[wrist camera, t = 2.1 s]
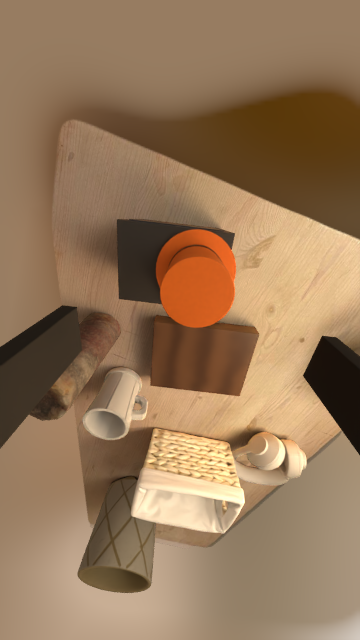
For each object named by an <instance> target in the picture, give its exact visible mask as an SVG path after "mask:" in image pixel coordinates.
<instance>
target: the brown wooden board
mask: <svg viewBox="0 0 360 640" xmlns="http://www.w3.org/2000/svg"><path fill="white" fill-rule="evenodd" d="M258 337H259V333H258V331H257V330H256V328H255V327H250V326H242V325H234V324H225V323H217V322H216V323H214V324H212V325H209V326H206V327H200V328H194V327H187V326H184V325H182V324H179V323H178V322H176V321H174V320H173V319H172V318H171V317H167V316H158V315H157V316H156V318H155V321H154V334H153V351H152V368H151V386H158V387H167V388H175V389H184V390H192V391H200V392H209V393H217V394H226V395H234V396H240V393H241V390H242V387H243V384H244V381H245V378H246V374H247V371H248V368H249V365H250V362H251V359H252V356H253V353H254V349H255V346H256V343H257V340H258Z"/></svg>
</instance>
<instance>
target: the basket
mask: <svg viewBox="0 0 360 640" xmlns="http://www.w3.org/2000/svg"><path fill="white" fill-rule="evenodd" d="M236 473H237V472H236V469H235V464H234V460H233V455H232V452H231V448H230V444H229V443H228V442H224V441H220V440H214V439H208V438H204V437H197V436H194V435H189V434H185V433H181V432H172V431H167V430H162V429H157V428H155V429H154V430H153V432H152V437H151V441H150V445H149V449H148V452H147V455H146V459H145V462H144V465H143V468H142V469H141V470H140V474H139V478H138V481H137V485H136V489H135V494H134V498H133V503H132V507H131V516H132V517H136V518H139V519H142V520H146V521H150V522H155V523H160V524H166V525H172V526H177V527H183V528H188V529H193V530H198V531H203V532H214V533H222V534H223V533H225V532H226V530H227V529H228V528H229V527H230V526H231V525H232V523H233V522H234V520H235V519H236V517H237V516H238V514H239V512H240V510H241V508H242V506H243V505H244V492H243V489H242V488H240V484H239V479H238V476H237V474H236ZM225 501H227V502H228V508H226V507H225Z"/></svg>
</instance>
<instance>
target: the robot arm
mask: <svg viewBox="0 0 360 640" xmlns="http://www.w3.org/2000/svg"><path fill="white" fill-rule="evenodd" d="M81 351H82V344H81V336H80V328H79V320H78V312H77V307H71V306H63V305H62V306H61V307H60V308H58V309H56V310H55V311H54V312H52V313H50V314H49V315H47V316H46V317H45V318H43V319H42V320H40V321H39V322H37V323H36V324H34V325H33V326H31V327H30V328H28V329H27V330H25V331H24V332H22V333H21V334H19V335H18V336H16V337H15V338H13V339H12V340H10V341H9V342H7V343H6V344H4V345H3V346H1V347H0V448H1V447H2V446H3V444H4V443H5V442H6V441H7V440H8V439H9V437H10V436H11V435H12V434H13V433H14V431H15V430H16V429H17V428H18V427H19V425H20V424H21V423H22V422H23V421H24V419H25V418H26V417H27V416H28V415H29V413H30V412H31V411H32V410H33V409H34V407H35V406H36V405H37V404H38V403H39V401H40V400H41V399H42V398H43V397H44V395H45V394H46V393H47V392H48V391H49V389H50V388H51V387H52V386H53V385H54V383H55V382H56V381H57V380H58V379H59V377H60V376H61V375H62V374H63V373H64V371H65V370H66V369H67V368H68V367H69V365H70V364H71V363H72V362H73V361H74V359H75V358H76V357H77V356H78V355H79V353H80V352H81ZM303 376H304V378H305V379H306V381H307V382H308V383H309V385H310V386H311V388H312V389H313V390H314V392H315V393H316V395H317V396H318V397H319V399H320V400H321V402H322V403H323V404H324V406H325V407H326V409H327V410H328V411H329V413H330V414H331V416H332V417H333V418H334V420H335V421H336V423H337V424H338V425H339V427H340V428H341V430H342V431H343V432H344V434H345V435H346V437H347V438H348V439H349V440H350V442H351V444H352V445H353V446H354V448H355V449H356V451H357V452H358V453H359V455H360V356H359V355H357V354H356V353H355V352H354V351H352V350H351V349H350V348H349V347H348V346H346V345H345V344H344V343H343V342H341V341H340V340H339V339H338V338H336V337H328V336H322V337H321V339H320V341H319V344H318V346H317V348H316V350H315V352H314V354H313V356H312V358H311V360H310V362H309V364H308V367H307V369H306V371H305V373H304V375H303Z"/></svg>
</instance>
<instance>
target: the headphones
mask: <svg viewBox="0 0 360 640" xmlns="http://www.w3.org/2000/svg"><path fill="white" fill-rule="evenodd" d="M244 454H247V457H248V460H249V461H250V462H251V463H252V464H253V465H255V466H256V467H258V468H254V467H248V466H245V465H243V464H241V463H238V462H237V461H236V459H237V458H238V457H239V456H241V455H244ZM232 455H233V460H234V464H235V469H236V472H237V473H236V474H237V476H238V478H239V479H241V480H244V481H247V482H250V483H254V484H261V485H281V484H284V483H286V482H288V480H290V479H291V478H296V477H299V476H300V474H301V471H302V469H305V468H306V464H307V463H306V456H305V453H304V451H303V450H302V449H299V447H298V446H297V444H296V443H295V442H294V441H293V440H284V439H282V440H279V439H278V438H277V437H276V436H274V435H273V434H271V433H268V432H261V433H257V434H256V435H254V436H253V437H252V438H251V439H250V440H249V442H248V444H247V445H246V446H243V447H241V448H238V449H236V450H234V451H233V452H232ZM278 466H279V467H278Z"/></svg>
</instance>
